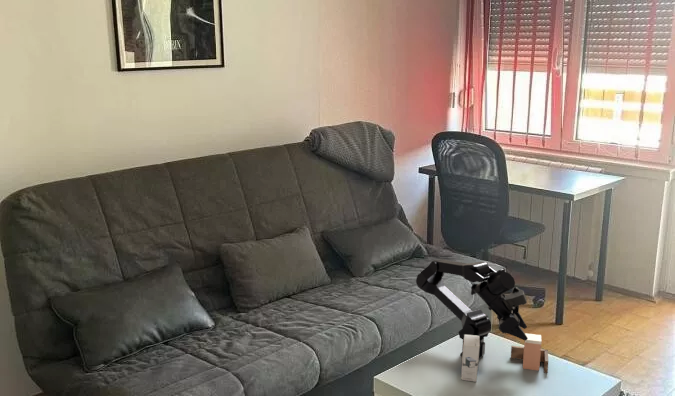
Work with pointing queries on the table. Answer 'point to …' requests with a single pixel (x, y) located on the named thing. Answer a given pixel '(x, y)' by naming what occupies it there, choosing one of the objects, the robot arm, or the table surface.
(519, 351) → the walnut corner walls
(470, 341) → the ink box
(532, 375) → the table surface
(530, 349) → the pink tall block
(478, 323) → the robot arm
